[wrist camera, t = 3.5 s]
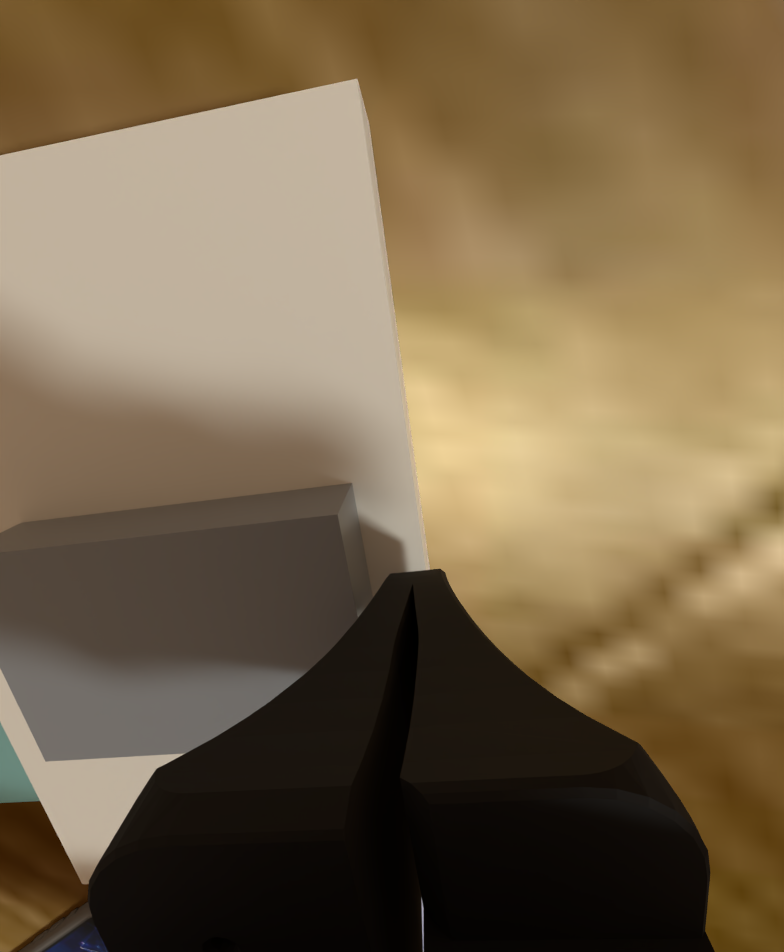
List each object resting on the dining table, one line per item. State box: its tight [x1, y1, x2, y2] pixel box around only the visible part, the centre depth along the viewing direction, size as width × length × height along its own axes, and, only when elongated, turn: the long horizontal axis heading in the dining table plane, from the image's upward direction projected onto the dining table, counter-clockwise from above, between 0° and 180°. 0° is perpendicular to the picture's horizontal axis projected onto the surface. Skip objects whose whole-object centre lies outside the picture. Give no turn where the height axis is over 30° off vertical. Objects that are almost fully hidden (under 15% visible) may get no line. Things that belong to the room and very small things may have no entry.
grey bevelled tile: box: [0, 483, 373, 762], centre depth 12 cm, size 6×9×2 cm, turn 98°
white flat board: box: [0, 79, 430, 884], centre depth 14 cm, size 22×14×2 cm, turn 8°
